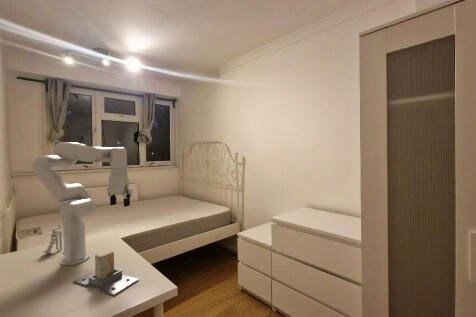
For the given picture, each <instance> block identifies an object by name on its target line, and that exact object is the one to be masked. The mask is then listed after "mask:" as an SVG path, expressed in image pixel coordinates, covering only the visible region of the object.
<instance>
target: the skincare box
mask: <svg viewBox="0 0 476 317" xmlns="http://www.w3.org/2000/svg"><path fill="white" fill-rule="evenodd" d="M94 256H95V257H94V260H95V261H94V263H95V264H94V267H95V268H94V270H95V278H96V279H99V280H103V279H105V278H106V277H108V276H110V275H112V274H114V268H115V252H114V251H112V250H110V249H108V250H104V251H102V252H100V253H97V254H95V255H94Z"/></svg>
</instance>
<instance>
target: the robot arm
mask: <svg viewBox="0 0 476 317" xmlns="http://www.w3.org/2000/svg"><path fill="white" fill-rule="evenodd" d="M52 153H54V154H45V155H40V156H37V157H35V158H34V159H33V161H32V166H31V167H32V171H33V174H34V176H35V177H36V178H37V179H38V181H40V183H41V184H42V185H43V186H44V187H45V189H46V190H47V191H48V193H49V194H50V196H51V197H52V199H53V201H55V202H56V203H58V204H63V205H62V206H61V207H60V209H59V215H60V219H61V224H62V235H63V236H62V237H63V238H62V239H63V240H62V241H63V252H62V253H61V254H62V255H63V258H62V259H61V260H60V264H61V265H62V266H73V265H78V264H80V263H83V262H85V261H87V260H88V259H89V258H90V253H88V252H86V251H87V249H86V247H87V246H86V226H85V223H84V221H83V220H82V219H81V218H83V217H86V216H88V215H89V216H90V215H91V214H94V212H95V211H96V209H97V203H96V200H94V198H93V196H92V195H91V194H90V193H89V191H88V190H87V188H86V187H85V186H84V185H82V184H81V183H76V182H75V183H67V182H66V181H65V180H64V178H63V177H62V176H61V175H60V174H58V173H57V172H55V171H60V170H61V171H63V170H68V169H69V168H71V167H73V166H74V165H75V164H77V162H78V161H81V162H86V163H87V162H88V163H108V162H109V168H110V170H109V171H110V174H109V176H108V187H107V188H106V190H107V194H108V198H109V206H114V205H117V196H123V207H129V206H131V198H132V196H133V191H134V190H133V188H131V187H130V181H129V180H130V179H129V175H128V159H127V156H128V155H127V154H128V153H127V148H126V147H123V146H121V147H120V146H119V147H118V146H116V147H109V146H108V147H107V146H104V147H103V146H88V145H87V144H84V143H79V142H73V141H70V142H69V141H61V142H58V143H56V144H54V146H53V148H52Z"/></svg>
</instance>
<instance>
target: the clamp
mask: <svg viewBox="0 0 476 317" xmlns="http://www.w3.org/2000/svg"><path fill="white" fill-rule="evenodd" d="M60 229H62V227H61V224H58V226H57V227H54V228H51V232H48V233H47V235H48V236H50V241H49V244H48V246H47V249H45V250H44V251H42V253H44V254H48V253H49V254H50V255H54V254H56V253H58V252H61V251H62V250H63V240H62V239H63V238H62V237H63V236H62V235H63V233H62V231H57V230H60ZM54 245H55V249H58V250H57V251H56V253H55V252H53V253H54V254H53V253H51V251H52V249H53V247H54ZM60 250H61V251H60Z"/></svg>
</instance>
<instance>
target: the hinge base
mask: <svg viewBox="0 0 476 317" xmlns="http://www.w3.org/2000/svg"><path fill="white" fill-rule="evenodd" d="M138 281H139V278H137V277H132V276H130V275H125V274H123V269H119V268H116V267H114V274H112V275H110V276H108V277H106V278H105V279H103V280H99V279H96V278H95V269H94V270H92V271H90V272H88V273H86V274H83V275H82V276H80V277H78V278H75V279H74V280H73V284H77V285H80V286H83V287H85V288H87V287H88V286H89V287H90V288H91V287H92V288H93V289H97V290H98V291H99V292H101V293H103V294H106V295H110V296H112V297H115V296H117V295H118V294H120V293H122V292H123V291H125V290H126V289H128V288H129V287H131V286H133V285H134V284H136V283H137V282H138Z"/></svg>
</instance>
